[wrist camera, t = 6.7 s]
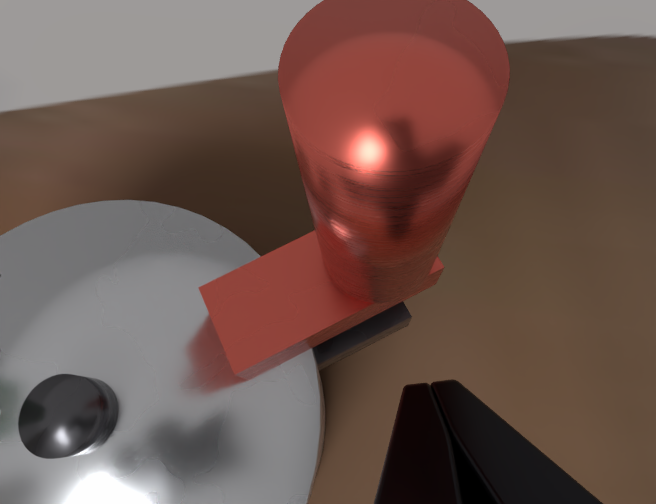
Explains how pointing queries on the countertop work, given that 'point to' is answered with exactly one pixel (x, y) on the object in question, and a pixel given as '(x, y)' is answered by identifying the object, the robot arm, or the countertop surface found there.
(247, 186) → the countertop surface
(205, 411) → the lid
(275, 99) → the countertop surface
